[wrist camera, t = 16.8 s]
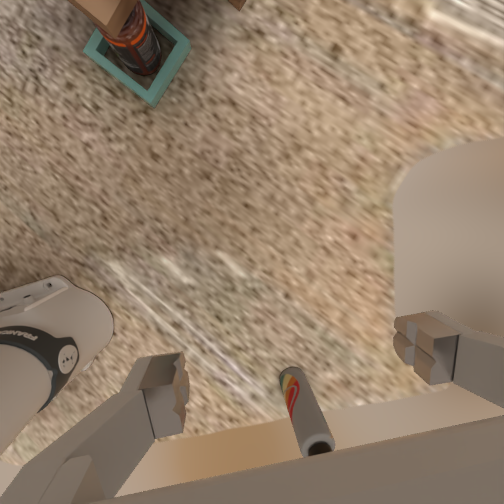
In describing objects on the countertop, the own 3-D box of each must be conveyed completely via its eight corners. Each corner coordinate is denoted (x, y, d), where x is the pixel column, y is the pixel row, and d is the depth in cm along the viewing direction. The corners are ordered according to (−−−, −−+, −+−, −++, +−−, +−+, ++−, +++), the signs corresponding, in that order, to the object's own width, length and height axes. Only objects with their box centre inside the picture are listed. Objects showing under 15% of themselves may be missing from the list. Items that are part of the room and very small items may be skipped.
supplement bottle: (164, 37, 35) (138, -34, 24) (160, 82, 36) (132, 33, 25) (122, 24, 34) (74, -56, 23) (118, 70, 35) (71, 14, 24)
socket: (154, 108, 37) (150, 103, 35) (90, 59, 35) (82, 51, 33) (191, 48, 36) (189, 40, 34) (128, -7, 33) (122, -20, 31)
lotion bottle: (273, 379, 51) (304, 490, 32) (292, 361, 51) (334, 463, 32) (291, 392, 53) (330, 506, 33) (309, 375, 52) (360, 481, 33)
